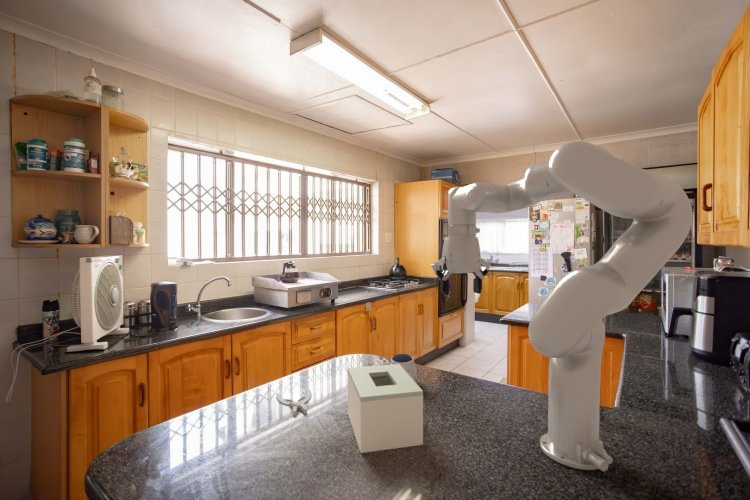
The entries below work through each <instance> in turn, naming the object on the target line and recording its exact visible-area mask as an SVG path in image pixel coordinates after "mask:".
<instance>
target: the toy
mask: <svg viewBox="0 0 750 500" xmlns="http://www.w3.org/2000/svg"><path fill="white" fill-rule="evenodd" d="M391 364H400V365H401V366H402V367H403V369H404V370H405V371H406V372H407V373H408V374H409V375H410V377H411V378H412V379H413V380H414V381H415V379H416V377H417V373H418V369H417V365H416V362H415V360H414V357H413V356H412V355H409V354H407V353H398V354H395V355H393V356H392V357H391V358H390V361H389V360H388V359H386V358H385V357H379V358H377V359H376V362H375V363H373V362H372V361H367V364H366V366H378V365H391Z"/></svg>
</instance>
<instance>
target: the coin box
mask: <svg viewBox="0 0 750 500" xmlns="http://www.w3.org/2000/svg"><path fill="white" fill-rule="evenodd" d="M347 415H348V418H349V421H350V424H351V428H352V430H353V434H354V436H355V440H356V443H357V446H358V449H359V453H360V454H363V453H372V452H380V451H385V450H386V451H387V450H394V449H401V448H408V447H415V446H416V447H417V446H423V444H424V390H423V389H422V388H421V387H420V386H419V385H418V384H417V382H416V381H415V379H414V380H413V379H412V378H411V377H410V375H409V374H408V373H407V372H406V371H405V370H404V369H403V367H402V366H401V365H400V364H391V365H378V366H367V365H366V366H356V367H347Z"/></svg>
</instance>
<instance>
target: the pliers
mask: <svg viewBox="0 0 750 500" xmlns="http://www.w3.org/2000/svg"><path fill="white" fill-rule="evenodd" d="M306 392H307V393H306V395H305V396H302V397H300V398H299V399H298V400H297V401H295V400H293V399H290V398H283V397H281V395H280V394H279V392H277V393H276V401H278V402H279V403H280V404H282V405H284V406H288V407H291V408H292V415H293V417H296V416H297V413H298V411H300V412H302V413H303V414H304V415H307V414H308V409H307V406H306V405H305V404H307V402H309V401H310V400H311V398H312V391H311V389H310V388H307V389H306Z"/></svg>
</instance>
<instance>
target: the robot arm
mask: <svg viewBox="0 0 750 500" xmlns="http://www.w3.org/2000/svg"><path fill="white" fill-rule="evenodd" d="M686 193H687V192H685V190H684V189H683V188H682V187H681V186H680V184H679V183H677V182H676V181H675V180H673V179H672V178H670V177H668V176H666V175H664V174H661V173H658V172H654V171H651V170H647V169H644V168H641V167H639V166H636V165H634V164H632V163H630V162H627V161H625V160H623V159H620V158H618V157H616V156H614V155H613V154H612V152H610V151H609V150H608V149H606V148H604V147H602V146H600V145H597V144H594V143H590V142H587V141H585V140H584V141H582V140H575V141H570V142H567V143H564V144H563V145H560V147H558V148H557V149H556V150H555V151H554V152H553V153H552V155H551V156H550V159H548V160H545V161H542V162H538V163H535V164H532V165H530V166H529V167H528V168H526V171H525V173H524V178H522V179H520V180H518V181H517V180H516V181H513V182H510V183H507V184H502V185H501V184H496V183H487V182H480V181H479V182H473V183H470V184H468V185H464V186H455V187H452V188H450V189H449V190H448V193H447V194H448V195H447V197H448V198H447V200H448V201H447V202H448V203H447V208H448V209H447V210H448V211H447V237H444V240H443V246H442V253H441V258H440V259H438V260H437V261H435V262H433V263H431V268H432V269H433V272H434V275H436V276H437V278H439V280H440V291H441V294H442V295H445V296H448V295H449V294H450V280H449V277H450V276H451V275H452V274H472V275H473V276H474V278H473V285H472V286H473V287H472V289H473V291H472V292H473V293H475V294H478V295H481V294H482V291H483V280H484V279H485V276H486V275H487V274H488V272H489V270H490V268H491V265H492V264H491V263H490V262H489V261H487V260H485V259H483V258H481V257H482V256H481V247H480V242H479V237H477V234H480V231H481V230H480V227H477V213H491V214H505V213H509V212H514V211H518V210H524V209H527V208H530V207H533V206H534V205H538V204H539V203H541V202H545V201H549V200H554V199H557V198H561V197H566V196H570V195H575V196H578V197H579V198H581V199H583V200H585V201H587V202H588V203H590V204H592V205H593V206H595V207H597V208H599V209H601V210H602V211H604V212H606V213H608V214H610V215H612V216H615V217H619V218H621V219H632V220H633V221H632V223H631V225H630V226H629V227H628V228H627V229H626V231H624V232H623V233H622V234H621V235H619V237H618V238H617V239H616V240H615V241H614V242H613V243H612V245H611V246H610V248H609V249H608V250H607V252H606V253H604V255H603V256H602V257H601V258H600V259H599V260H598V261H597V262H596V263H595V264H592V265H584V266H579V267H577V268H575V269H573V270H570V271H569V272H568V273H567V274H566V275H564V276H563V277H562V278H561V279H560V280H559V282H558V283H557V284H556V285H555V287H554V288H553V289H552V290H551V292H550V293H549V294H548V296H547V297H545V298H546V299H544V301H542V302H541V305H540V306H539V307H538V308H537V309H536V311H535V312H534V314H533V316H532V317H531V319H530V321H529V324H528V332H527V334H528V338H529V342H530V344H531V346H532V347H533V348H534V349H535V351H536V352H537V353H540V355H542V356H544V357H548V358H549V362H548V363H549V365H548V401H547V402H548V405H547V407H548V409H547V411H548V413H547V432H546V433H545V434H543V435H542V436H541V437H540V438H539V439H540V440H539V447H540V449H541V451H542V452H543V453H544V454H545V455H546V456H547V457H549V459H552V460H553V461H555V462H557V463H559V464H560V465H564V466H566V467H569V468H573V469H577V470H584V471H585V470H586V471H596V470H600V471H602V472H606V471H608V469H609V465H612V463H613V462H614V458H612V456H610V455H609V454H608V453H607V451H606V450H605V449H604V442H603V441H602V440H600V399H601V398H600V397H601V396H600V394H601V392H600V391H601V372H602V371H601V368H602V358H603V350H604V345H605V340H606V328H605V324H604V320H603V319H604V318H606V317H607V316H610V315H613V314H615V313H619V312H622V311H623V310H625V309H626V308H627V307H629V306H630V305H631V303H632V302H633V301H634V300H635V299H636V297H638V295H639V294H640V292H641V291H642V290H644V288H646V286H647V285H648V284H649V283H650V282H651V281H652V280H653V278H654V277H656V275H657V274H658V273H659V272H660V270H661V269H662V268H663V267H664V266H665V265H666V264H667V262H669V260H670V259H671V258H672V257H673V256H674V255H675V254H676V253H677V251H678V250H679V249H680V247H681V246H682V245H683V243H684V241H686V239H687V237H688V234H689V233H690V231H691V227H692V223H693V222H692V221H693V208H692V205H691V202H690V199H689V197H688V195H687V194H686ZM481 265H482V266H483V267H481ZM440 266H441V270H440Z"/></svg>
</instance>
